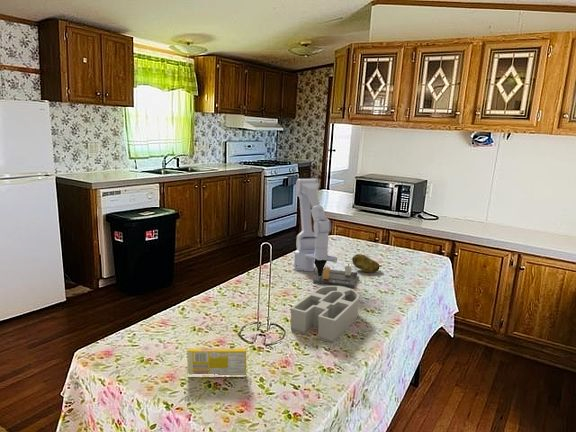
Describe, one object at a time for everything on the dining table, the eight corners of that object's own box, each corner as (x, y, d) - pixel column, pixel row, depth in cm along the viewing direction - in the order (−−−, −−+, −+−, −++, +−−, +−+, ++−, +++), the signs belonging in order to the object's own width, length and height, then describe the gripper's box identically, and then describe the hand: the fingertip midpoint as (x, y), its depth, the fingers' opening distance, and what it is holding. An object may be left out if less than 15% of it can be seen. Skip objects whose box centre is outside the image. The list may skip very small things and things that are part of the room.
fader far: (344, 275, 191) (345, 265, 190) (345, 272, 195) (346, 263, 194) (350, 275, 191) (350, 266, 190) (351, 272, 194) (351, 263, 193)
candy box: (246, 374, 118) (246, 347, 116) (246, 378, 115) (246, 352, 114) (188, 374, 117) (188, 347, 115) (187, 378, 115) (186, 351, 113)
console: (313, 283, 185) (313, 279, 185) (319, 271, 200) (319, 268, 200) (353, 288, 181) (353, 284, 181) (357, 275, 196) (357, 272, 196)
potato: (375, 276, 196) (376, 259, 195) (349, 270, 202) (350, 255, 201) (380, 270, 203) (381, 255, 202) (355, 266, 209) (356, 250, 208)
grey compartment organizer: (289, 331, 143) (290, 308, 141) (325, 302, 166) (326, 282, 164) (333, 345, 134) (334, 320, 133) (364, 313, 158) (366, 291, 156)
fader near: (323, 278, 186) (323, 269, 185) (324, 276, 189) (324, 266, 188) (328, 279, 185) (328, 269, 184) (329, 276, 189) (330, 267, 188)
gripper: (303, 247, 183) (302, 276, 186) (336, 250, 179) (334, 280, 182) (306, 243, 190) (305, 271, 193) (338, 246, 186) (337, 275, 189)
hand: (320, 275), depth 188 cm, fingers closed
